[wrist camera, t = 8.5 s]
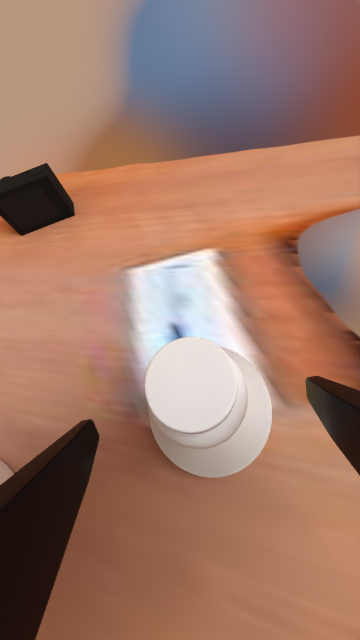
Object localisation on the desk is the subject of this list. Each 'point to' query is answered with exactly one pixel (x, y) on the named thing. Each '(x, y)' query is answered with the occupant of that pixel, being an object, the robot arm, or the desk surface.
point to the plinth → (239, 445)
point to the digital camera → (34, 200)
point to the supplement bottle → (195, 393)
